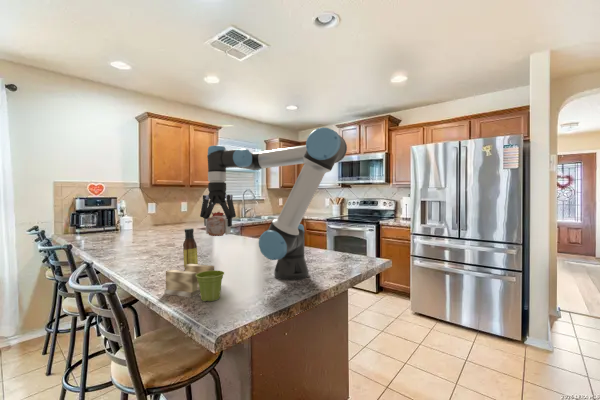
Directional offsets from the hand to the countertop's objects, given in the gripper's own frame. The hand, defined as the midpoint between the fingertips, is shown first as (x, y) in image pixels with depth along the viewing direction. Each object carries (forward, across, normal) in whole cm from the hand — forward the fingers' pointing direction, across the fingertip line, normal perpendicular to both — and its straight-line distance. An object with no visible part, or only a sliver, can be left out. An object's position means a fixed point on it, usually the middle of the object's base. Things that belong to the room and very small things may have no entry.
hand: (218, 233), depth 126 cm
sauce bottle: (+19, +21, -7) cm, 29 cm away
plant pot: (+19, -13, +23) cm, 33 cm away
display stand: (+19, 0, +17) cm, 26 cm away
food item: (+1, 0, 0) cm, 1 cm away
